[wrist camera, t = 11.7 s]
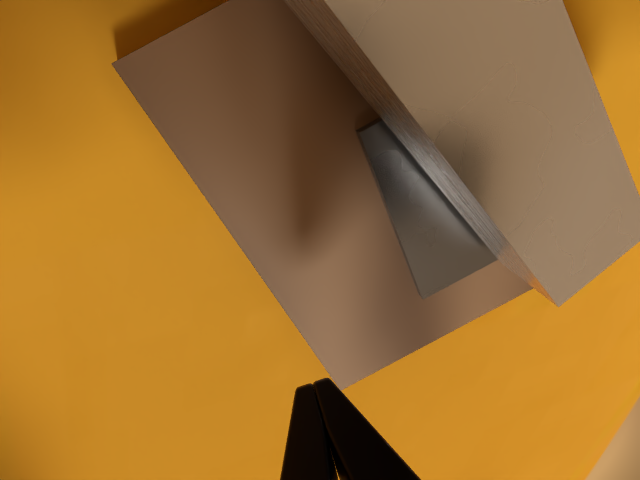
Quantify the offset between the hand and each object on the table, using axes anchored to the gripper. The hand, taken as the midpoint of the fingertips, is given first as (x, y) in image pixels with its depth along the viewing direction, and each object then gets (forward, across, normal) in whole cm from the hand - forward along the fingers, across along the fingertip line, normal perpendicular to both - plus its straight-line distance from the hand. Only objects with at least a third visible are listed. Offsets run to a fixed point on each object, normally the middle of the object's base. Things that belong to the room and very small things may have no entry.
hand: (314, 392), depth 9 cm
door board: (+3, -4, -3) cm, 6 cm away
